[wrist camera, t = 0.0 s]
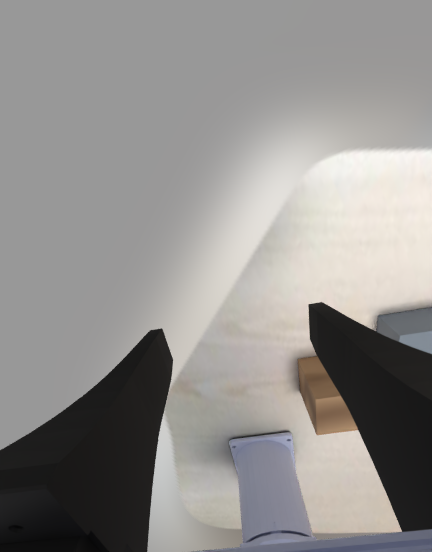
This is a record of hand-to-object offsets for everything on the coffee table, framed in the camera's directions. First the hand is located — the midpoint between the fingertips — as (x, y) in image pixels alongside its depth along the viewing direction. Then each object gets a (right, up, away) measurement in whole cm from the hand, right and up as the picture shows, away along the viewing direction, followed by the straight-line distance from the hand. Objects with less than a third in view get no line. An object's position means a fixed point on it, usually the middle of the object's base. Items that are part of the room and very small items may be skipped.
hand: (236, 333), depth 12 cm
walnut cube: (+11, -8, +15) cm, 20 cm away
